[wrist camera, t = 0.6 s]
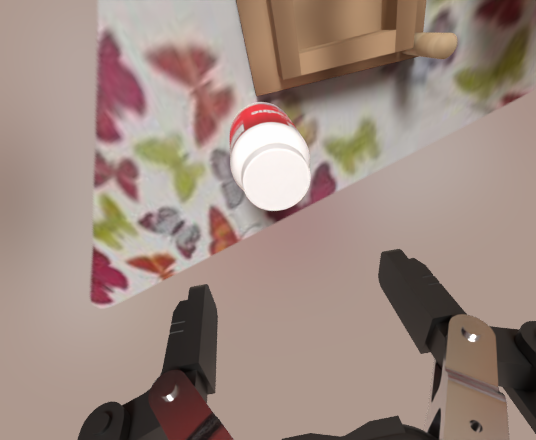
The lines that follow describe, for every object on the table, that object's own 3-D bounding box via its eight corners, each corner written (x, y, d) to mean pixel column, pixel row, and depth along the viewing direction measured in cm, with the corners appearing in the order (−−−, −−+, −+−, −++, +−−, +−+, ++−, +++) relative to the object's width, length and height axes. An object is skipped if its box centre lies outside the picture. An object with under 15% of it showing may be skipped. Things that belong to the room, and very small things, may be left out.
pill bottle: (302, 120, 28) (339, 164, 19) (271, 171, 30) (291, 231, 21) (247, 87, 25) (258, 119, 16) (218, 145, 28) (215, 200, 19)
